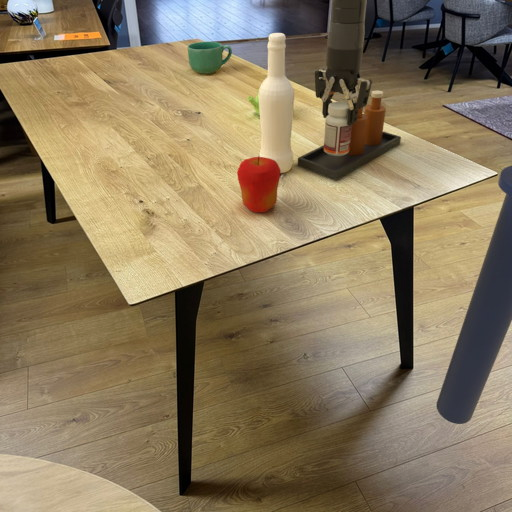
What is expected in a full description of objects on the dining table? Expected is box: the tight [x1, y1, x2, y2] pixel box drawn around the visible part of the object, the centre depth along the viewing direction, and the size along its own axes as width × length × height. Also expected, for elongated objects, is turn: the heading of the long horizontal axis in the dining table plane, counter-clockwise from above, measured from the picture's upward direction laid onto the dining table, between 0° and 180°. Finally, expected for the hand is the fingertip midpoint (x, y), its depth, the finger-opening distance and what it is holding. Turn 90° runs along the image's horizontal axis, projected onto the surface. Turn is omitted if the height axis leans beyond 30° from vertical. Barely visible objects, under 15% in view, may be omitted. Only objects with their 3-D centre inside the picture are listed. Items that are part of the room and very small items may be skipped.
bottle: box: [257, 32, 295, 175], centre depth 107 cm, size 8×8×30 cm
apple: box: [236, 155, 281, 213], centre depth 97 cm, size 9×8×12 cm
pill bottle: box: [323, 101, 352, 156], centre depth 112 cm, size 6×6×11 cm
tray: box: [297, 131, 402, 181], centre depth 120 cm, size 28×12×2 cm, turn 135°
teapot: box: [247, 87, 260, 116], centre depth 142 cm, size 11×12×8 cm
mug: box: [187, 41, 233, 75], centre depth 180 cm, size 17×13×10 cm
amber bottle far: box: [363, 89, 387, 146], centre depth 121 cm, size 5×5×13 cm
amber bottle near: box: [347, 107, 368, 155], centre depth 117 cm, size 5×5×13 cm
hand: (338, 120), depth 110 cm, fingers closed on pill bottle, 6 cm apart
